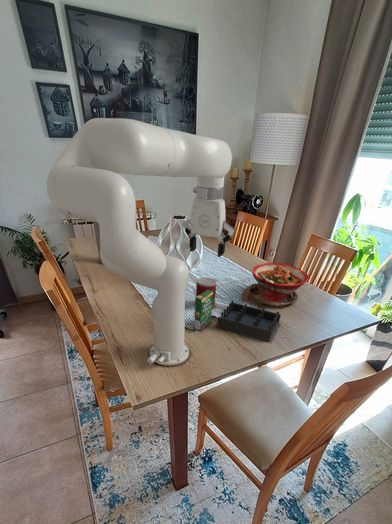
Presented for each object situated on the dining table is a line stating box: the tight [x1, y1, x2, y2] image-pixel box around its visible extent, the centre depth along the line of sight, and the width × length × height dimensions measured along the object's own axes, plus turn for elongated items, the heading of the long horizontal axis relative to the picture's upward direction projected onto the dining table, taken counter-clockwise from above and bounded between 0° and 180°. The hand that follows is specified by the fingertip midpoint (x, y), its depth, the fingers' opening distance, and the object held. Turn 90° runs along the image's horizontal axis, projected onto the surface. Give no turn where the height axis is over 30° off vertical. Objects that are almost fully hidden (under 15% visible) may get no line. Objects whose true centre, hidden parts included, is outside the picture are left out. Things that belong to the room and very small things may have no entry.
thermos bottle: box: [92, 221, 103, 265], centre depth 149 cm, size 8×8×28 cm
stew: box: [240, 262, 309, 309], centre depth 124 cm, size 28×24×16 cm
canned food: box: [195, 276, 217, 309], centre depth 118 cm, size 8×8×11 cm
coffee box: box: [194, 290, 213, 332], centre depth 104 cm, size 8×3×13 cm, turn 146°
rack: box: [216, 299, 282, 343], centre depth 108 cm, size 20×14×6 cm
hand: (206, 253), depth 93 cm, fingers open, 9 cm apart
